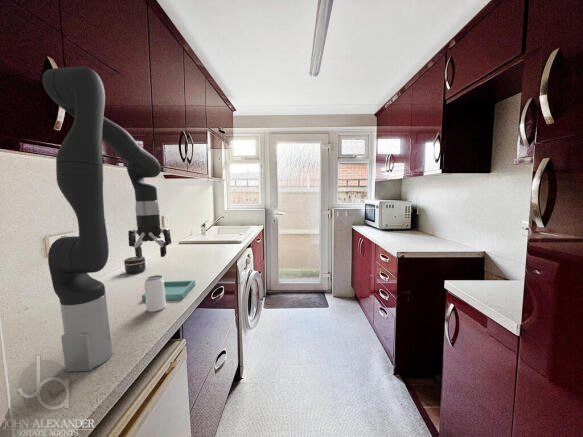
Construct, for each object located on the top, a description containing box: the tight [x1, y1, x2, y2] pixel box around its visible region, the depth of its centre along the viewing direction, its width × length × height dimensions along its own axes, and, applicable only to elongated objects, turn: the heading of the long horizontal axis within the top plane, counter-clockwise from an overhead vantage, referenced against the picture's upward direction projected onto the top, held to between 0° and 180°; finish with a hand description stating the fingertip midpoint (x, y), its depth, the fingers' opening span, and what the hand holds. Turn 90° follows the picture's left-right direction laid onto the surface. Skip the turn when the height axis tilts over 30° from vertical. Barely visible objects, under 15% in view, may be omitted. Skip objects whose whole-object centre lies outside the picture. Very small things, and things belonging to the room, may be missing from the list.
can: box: [144, 274, 167, 313], centre depth 99 cm, size 6×6×12 cm
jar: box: [123, 256, 146, 275], centre depth 146 cm, size 10×10×8 cm
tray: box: [141, 279, 196, 302], centre depth 114 cm, size 16×16×2 cm
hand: (151, 257), depth 98 cm, fingers open, 8 cm apart
